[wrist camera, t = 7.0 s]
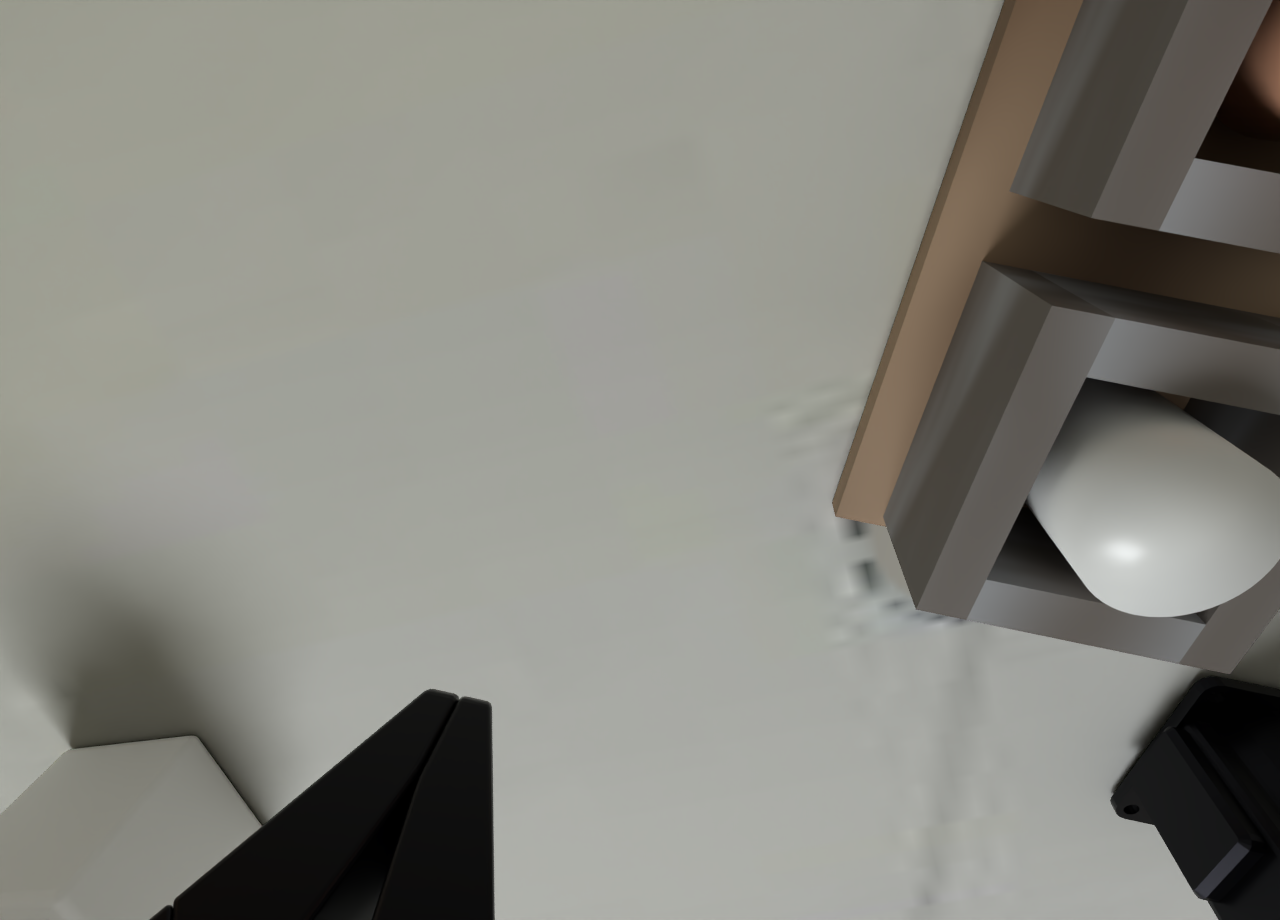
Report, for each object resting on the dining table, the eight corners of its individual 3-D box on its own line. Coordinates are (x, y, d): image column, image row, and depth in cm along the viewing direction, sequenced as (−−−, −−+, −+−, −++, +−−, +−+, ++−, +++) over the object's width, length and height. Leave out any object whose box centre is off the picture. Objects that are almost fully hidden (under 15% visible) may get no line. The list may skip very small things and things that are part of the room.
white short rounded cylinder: (1184, 380, 17) (1340, 476, 13) (1111, 510, 19) (1225, 633, 15) (1030, 350, 17) (1131, 435, 13) (972, 482, 19) (1043, 596, 15)
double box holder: (1629, -161, 13) (2086, -294, 9) (1163, 570, 21) (1278, 695, 17) (1091, -252, 13) (1267, -427, 9) (832, 502, 21) (858, 607, 17)
